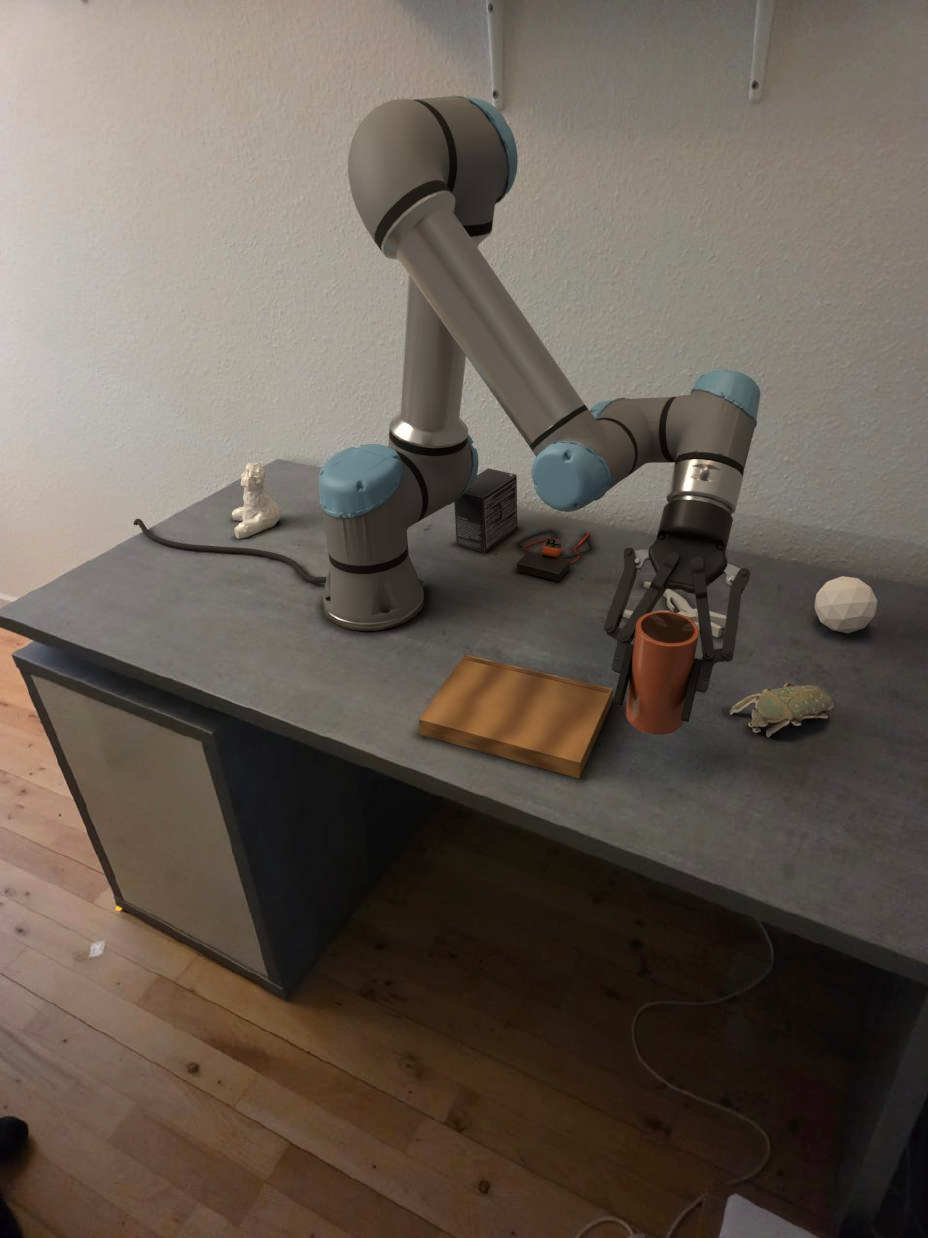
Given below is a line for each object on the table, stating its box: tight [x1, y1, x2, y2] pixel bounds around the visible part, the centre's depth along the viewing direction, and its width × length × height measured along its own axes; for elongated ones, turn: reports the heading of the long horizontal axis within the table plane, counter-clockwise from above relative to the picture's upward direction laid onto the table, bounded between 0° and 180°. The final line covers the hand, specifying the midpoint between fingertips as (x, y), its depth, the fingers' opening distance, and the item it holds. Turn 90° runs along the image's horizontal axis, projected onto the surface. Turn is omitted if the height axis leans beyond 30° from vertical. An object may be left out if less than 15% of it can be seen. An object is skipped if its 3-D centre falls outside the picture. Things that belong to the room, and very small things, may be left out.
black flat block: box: [516, 530, 594, 582], centre depth 131 cm, size 18×12×3 cm, turn 145°
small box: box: [453, 467, 519, 554], centre depth 134 cm, size 11×6×10 cm, turn 144°
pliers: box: [622, 581, 726, 638], centre depth 115 cm, size 10×2×15 cm
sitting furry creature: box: [231, 461, 281, 540], centre depth 141 cm, size 10×9×12 cm
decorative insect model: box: [728, 682, 835, 738], centre depth 95 cm, size 9×11×5 cm
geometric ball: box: [814, 575, 878, 634], centre depth 109 cm, size 8×8×8 cm
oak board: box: [418, 654, 614, 779], centre depth 97 cm, size 20×14×3 cm
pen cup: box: [625, 610, 700, 736], centre depth 85 cm, size 6×6×12 cm
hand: (650, 711), depth 84 cm, fingers closed on pen cup, 6 cm apart
